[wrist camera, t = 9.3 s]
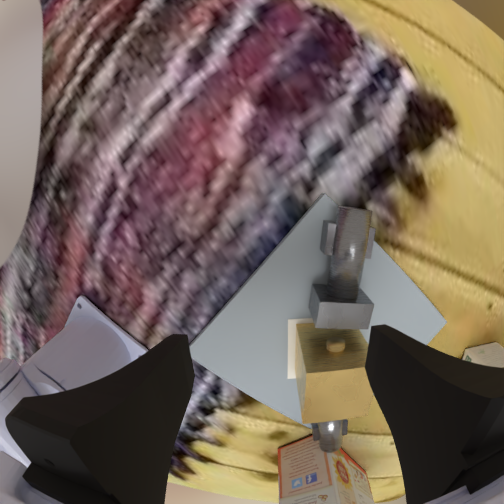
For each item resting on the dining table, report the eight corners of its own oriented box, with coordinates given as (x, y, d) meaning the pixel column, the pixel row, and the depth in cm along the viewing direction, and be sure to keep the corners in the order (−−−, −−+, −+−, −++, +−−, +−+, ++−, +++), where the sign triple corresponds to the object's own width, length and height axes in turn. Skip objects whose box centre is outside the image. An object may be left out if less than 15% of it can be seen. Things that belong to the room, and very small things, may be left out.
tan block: (346, 369, 22) (366, 419, 16) (294, 374, 22) (302, 427, 16) (353, 314, 20) (381, 359, 14) (295, 319, 20) (306, 367, 15)
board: (321, 428, 24) (322, 435, 24) (186, 347, 22) (184, 353, 22) (442, 318, 21) (447, 322, 20) (322, 193, 19) (325, 193, 18)
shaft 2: (304, 384, 22) (309, 410, 19) (346, 376, 22) (355, 400, 19) (310, 436, 24) (313, 459, 21) (345, 429, 24) (352, 451, 20)
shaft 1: (354, 309, 20) (368, 329, 17) (308, 306, 20) (315, 328, 17) (371, 209, 18) (390, 215, 15) (322, 203, 19) (333, 207, 15)
